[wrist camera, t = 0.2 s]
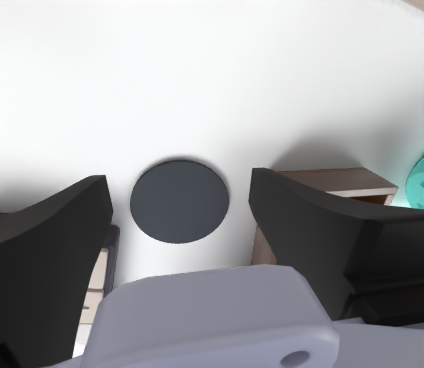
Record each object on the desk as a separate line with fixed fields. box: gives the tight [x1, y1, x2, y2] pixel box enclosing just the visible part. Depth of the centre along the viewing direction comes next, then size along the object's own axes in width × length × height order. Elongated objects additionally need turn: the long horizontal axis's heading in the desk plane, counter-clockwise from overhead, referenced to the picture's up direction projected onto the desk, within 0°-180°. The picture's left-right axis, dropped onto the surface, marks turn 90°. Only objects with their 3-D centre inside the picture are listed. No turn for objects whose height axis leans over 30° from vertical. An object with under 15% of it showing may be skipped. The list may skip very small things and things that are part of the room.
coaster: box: [130, 160, 229, 244], centre depth 24 cm, size 10×10×1 cm
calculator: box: [0, 213, 120, 346], centre depth 24 cm, size 11×4×15 cm
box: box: [251, 168, 398, 266], centre depth 26 cm, size 15×12×4 cm
